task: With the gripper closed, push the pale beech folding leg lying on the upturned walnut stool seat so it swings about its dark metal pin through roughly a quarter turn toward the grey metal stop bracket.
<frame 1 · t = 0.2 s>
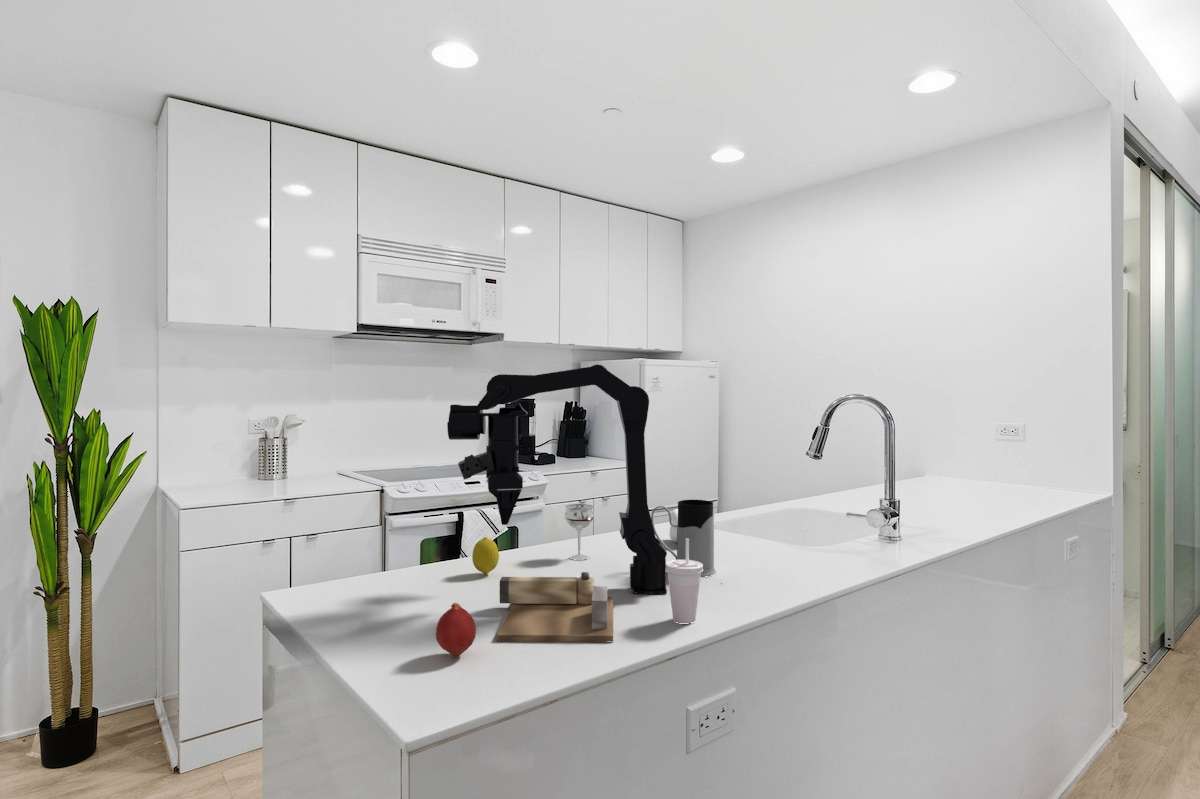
hand: (503, 520, 132), 14 cm above the counter, tool pointing down, fingers open, 9 cm apart
lemon: (485, 575, 144), on the counter
smoothie: (684, 622, 115), on the counter
seat: (560, 620, 116), on the counter
onion: (456, 657, 100), on the counter
pretzel: (688, 544, 173), on the counter
leg: (547, 590, 122), point 3 cm above the counter, hinge at 0.0°
wineglass: (579, 558, 159), on the counter
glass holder: (682, 571, 147), on the counter
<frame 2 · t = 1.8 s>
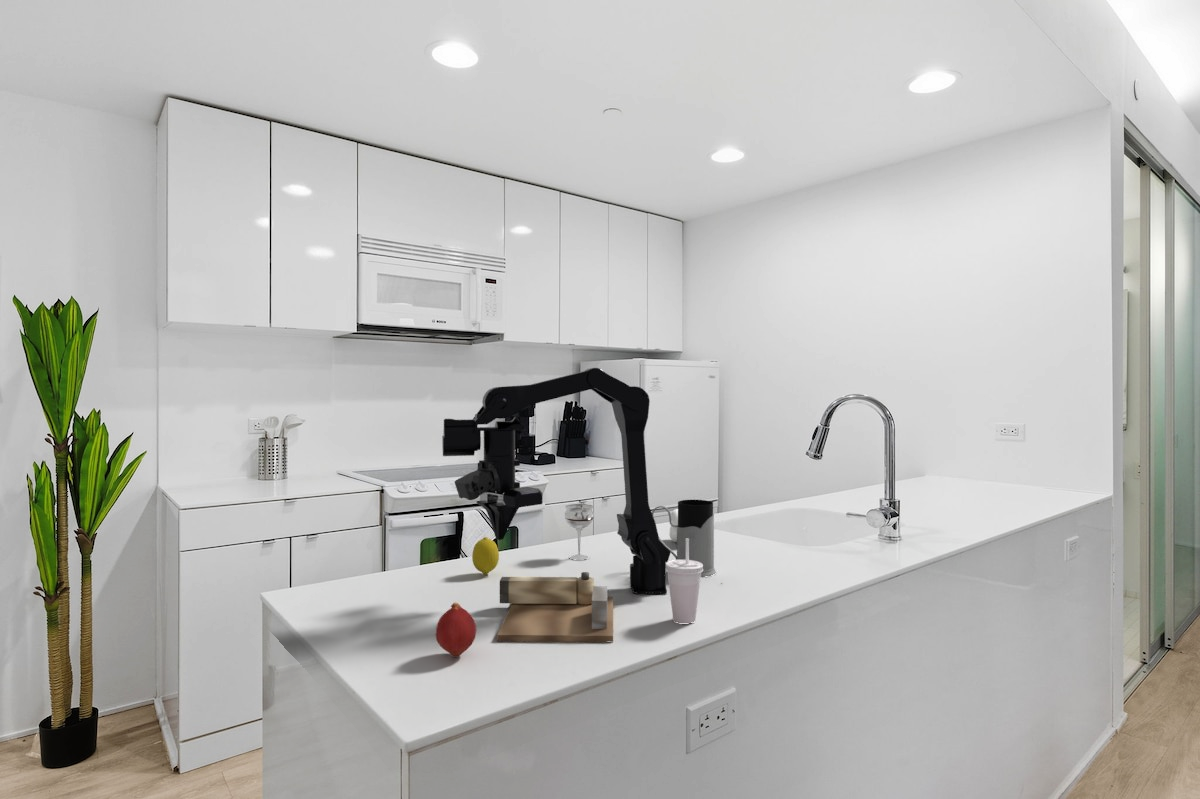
hand: (499, 539, 126), 11 cm above the counter, tool pointing down, fingers closed
nothing on the counter moved.
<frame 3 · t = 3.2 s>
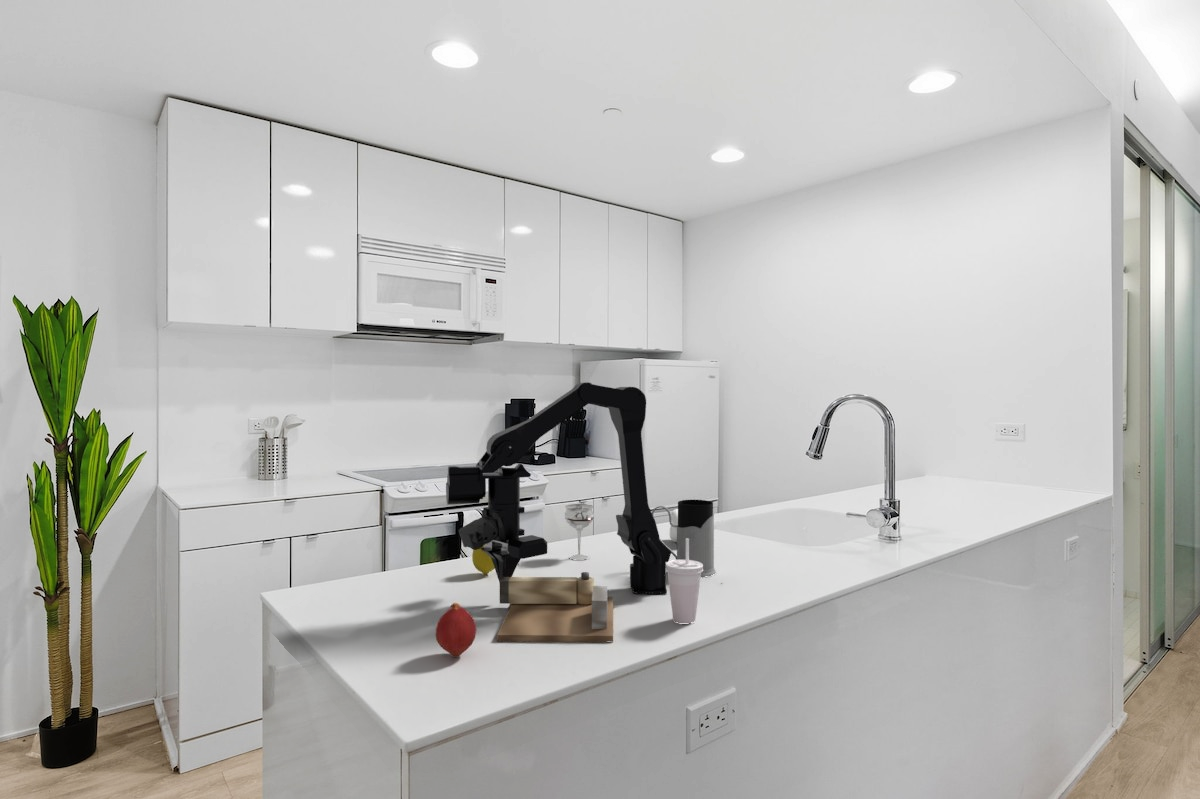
hand: (503, 586, 125), 3 cm above the counter, tool pointing down, fingers closed
leg: (547, 590, 122), point 3 cm above the counter, hinge at 0.4°, touching gripper
everything else where it was.
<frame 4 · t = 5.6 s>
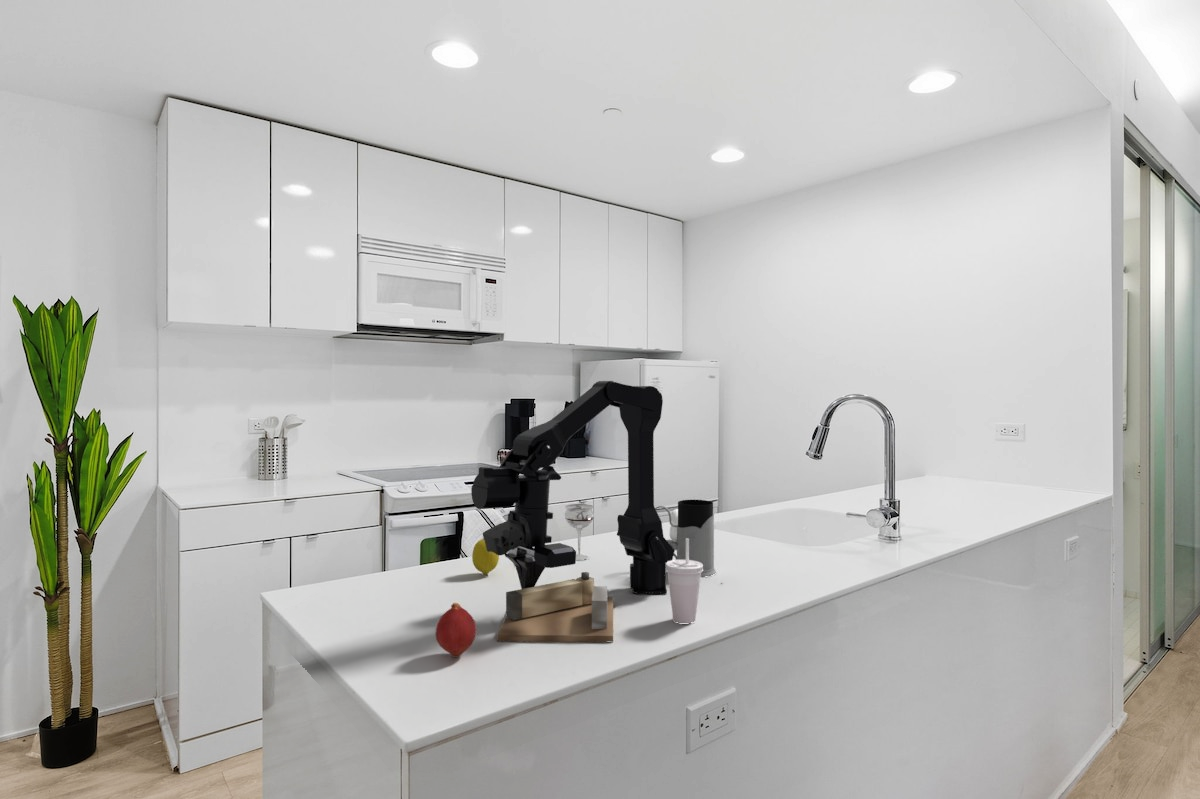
hand: (526, 596, 117), 4 cm above the counter, tool pointing down, fingers closed
leg: (552, 597, 118), point 3 cm above the counter, hinge at 36.8°, touching gripper
everything else where it was.
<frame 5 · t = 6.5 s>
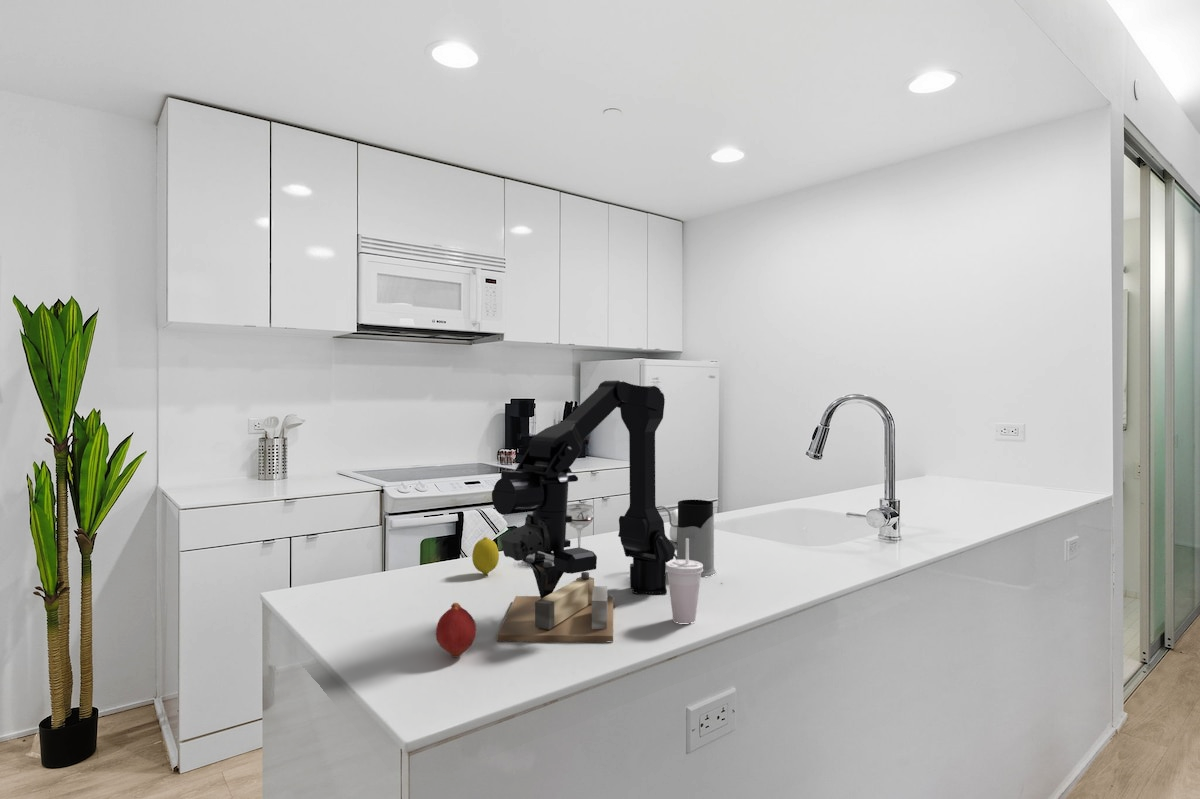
hand: (544, 602, 114), 4 cm above the counter, tool pointing down, fingers closed
leg: (567, 600, 116), point 3 cm above the counter, hinge at 65.7°, touching gripper
everything else where it was.
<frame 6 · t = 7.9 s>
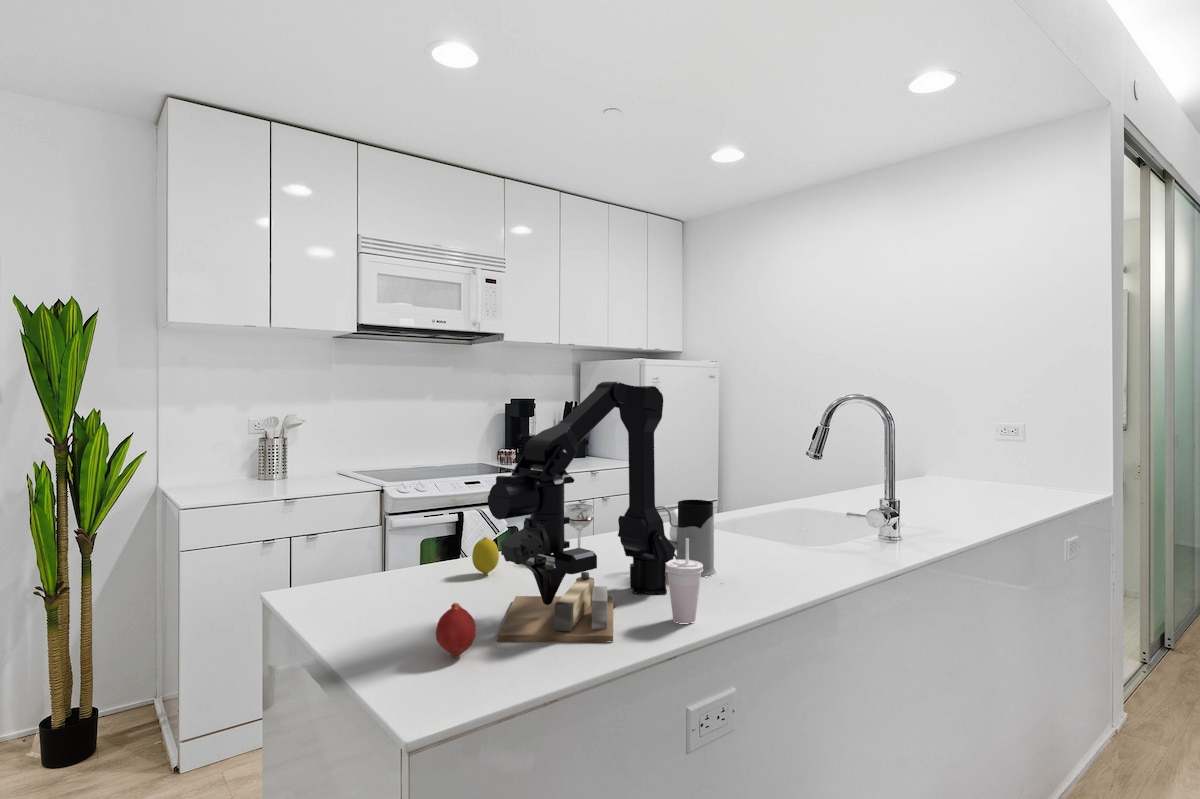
hand: (547, 604, 115), 3 cm above the counter, tool pointing down, fingers closed
leg: (575, 601, 115), point 3 cm above the counter, hinge at 78.9°
everything else where it was.
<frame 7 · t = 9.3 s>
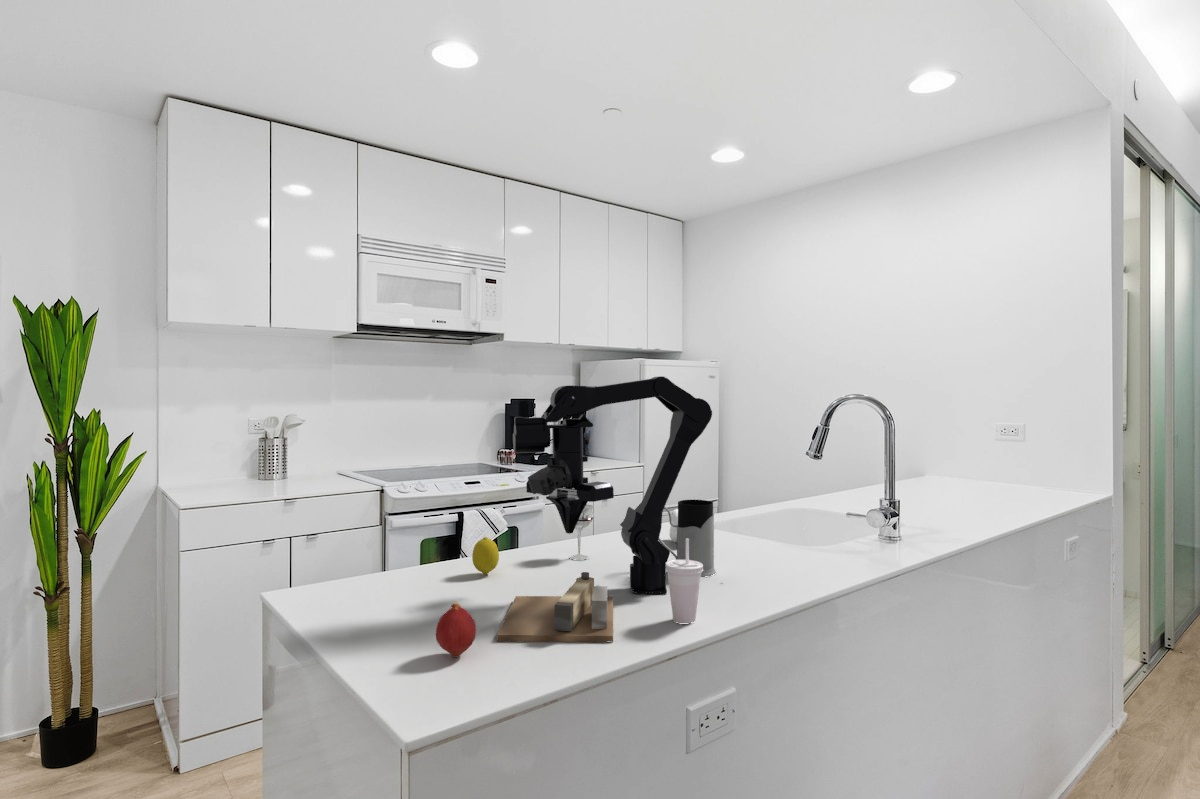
hand: (569, 533, 130), 12 cm above the counter, tool pointing down, fingers closed
nothing on the counter moved.
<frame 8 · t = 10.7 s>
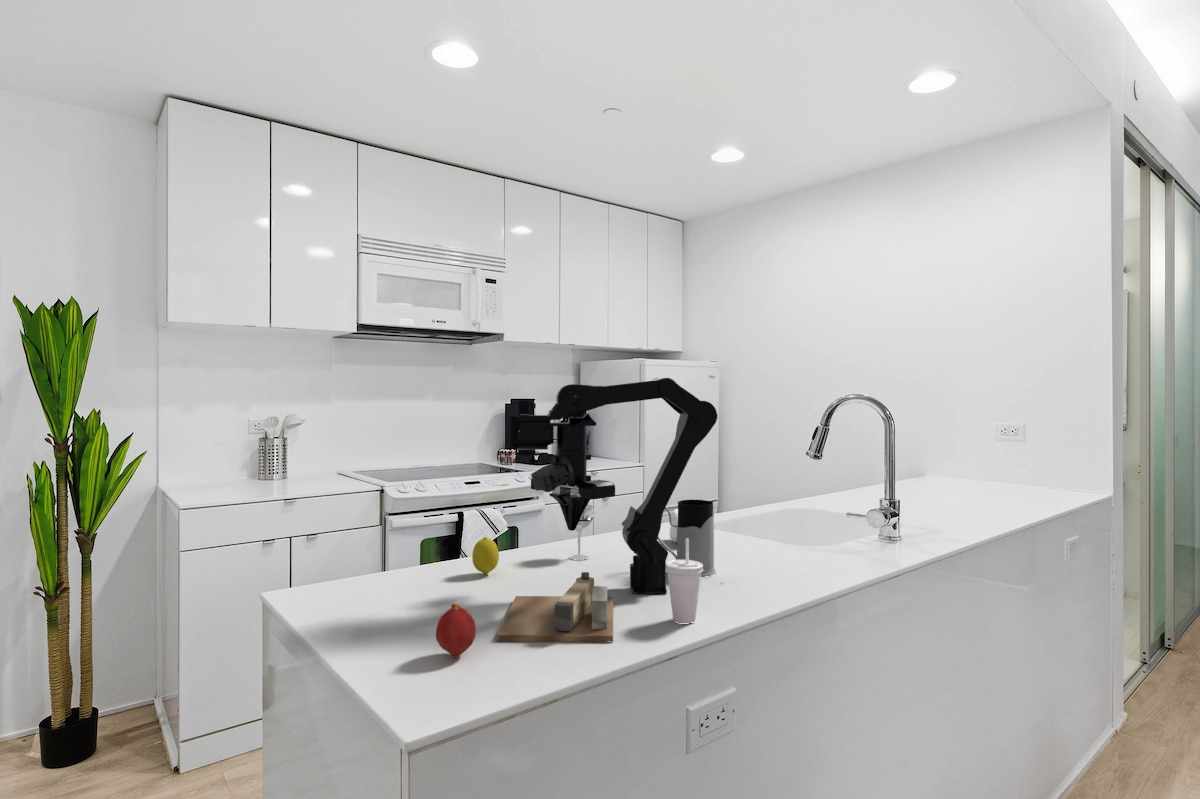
hand: (571, 530, 132), 12 cm above the counter, tool pointing down, fingers closed
nothing on the counter moved.
at the end: leg at +79° (first picture: +0°) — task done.
